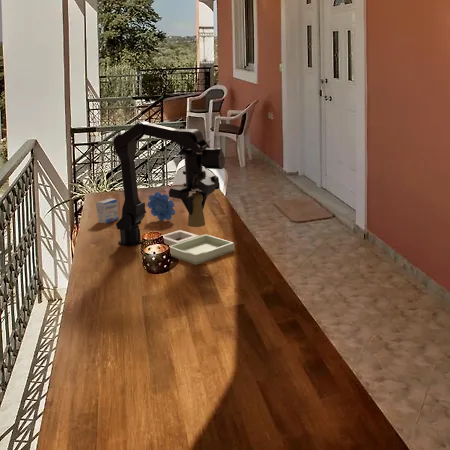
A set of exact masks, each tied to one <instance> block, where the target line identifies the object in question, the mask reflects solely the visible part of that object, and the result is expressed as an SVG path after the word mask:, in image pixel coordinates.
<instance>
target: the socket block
mask: <svg viewBox="0 0 450 450" xmlns="http://www.w3.org/2000/svg"><path fill="white" fill-rule="evenodd" d="M161 236H163V238H164V243H165V244H167V245H169V246H171V245H174V244H177V243H181V242H184V241H187V240H190V239H193V238H196V237H199V236H200V235H198V234H195V233H191V232H188V231H185V230H181V229H178V230H176V231H172V232H168V233H165V234H162V235H161Z"/></svg>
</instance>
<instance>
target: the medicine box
mask: <svg viewBox="0 0 450 450" xmlns="http://www.w3.org/2000/svg"><path fill="white" fill-rule="evenodd" d="M95 203H96V214H97V216H96V217H97V223H100V224H105V225H107V224H109V223H112V222H115V221H117V220H120V217H119V208H118V207H119V206H118V199H116V198H111V197H110V198H106V199H103V200H100V201H97V202H95Z"/></svg>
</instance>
